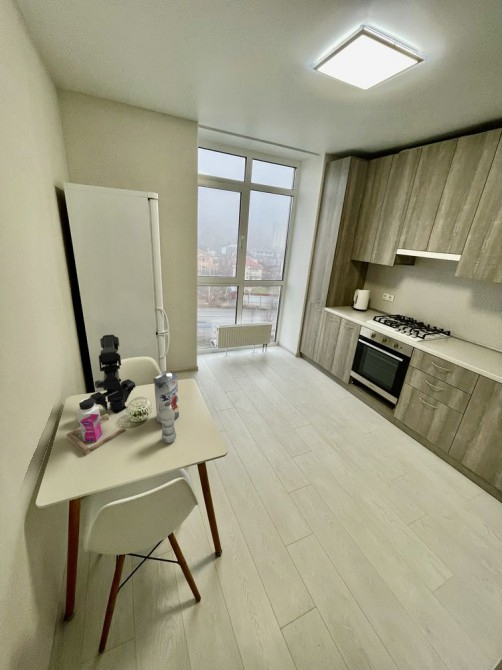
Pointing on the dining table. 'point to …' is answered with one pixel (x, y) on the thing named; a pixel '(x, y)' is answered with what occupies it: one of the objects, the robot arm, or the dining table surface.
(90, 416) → the supplement box
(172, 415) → the plastic bottle
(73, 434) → the cleat bracket
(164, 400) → the juice carton
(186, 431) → the dining table surface
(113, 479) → the dining table surface
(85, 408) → the medicine bottle
